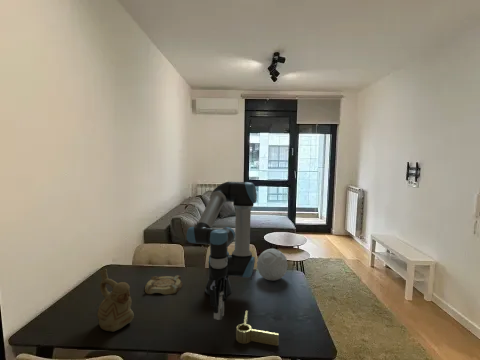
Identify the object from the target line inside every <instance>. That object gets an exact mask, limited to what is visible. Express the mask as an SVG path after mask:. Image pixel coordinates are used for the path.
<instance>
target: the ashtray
mask: <svg viewBox="0 0 480 360" xmlns="http://www.w3.org/2000/svg"><path fill="white" fill-rule="evenodd" d="M181 280H182V277H181V275H179V274H176V275H175V276H169V275H167V276H166V275H164V276H157V275H154V276H153V275H152V276H150V280H148V281H147V283H146V284H145V285H144V287H145V288H144V292H145V293H146V294H147V295H153V294H162V295H163V296H164V295H171V294H176V293H178V292H179V291H180V290H181V289H182V288H183V282H182V281H181Z"/></svg>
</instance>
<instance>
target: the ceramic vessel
mask: <svg viewBox="0 0 480 360" xmlns="http://www.w3.org/2000/svg"><path fill="white" fill-rule="evenodd" d="M99 274H100V276H101V277H100V278H101V280H100V283H99V284H100V285H99V289H100V292H101V294H102V296H103V298H104V299H103V300H102V301H101V302H100V304H99V306H98V309H97V316H96V317H97V318H98V326H99V327H100V329H102V330H103V331H106V332H112V333H113V332H116V331H119V330H121V329H122V328H123V327H125V326H127V325H128V324H130V323H131V322H132V321H133V320H134V317H135V314H134V311H133V310H132V309H131V307H132V304H133V303H132V297H131V293H130V287H131V286H130V285H129V283H127V282H125V281H121V282H120V281H119V282H117V281H115V280H113V279H112V278H109V276H108V270H107V268H105V269H101V270H100V271H99ZM107 285H109V286H110V287H111V288H112V292H111V291H109V290H108V288H107ZM110 292H111V293H110Z"/></svg>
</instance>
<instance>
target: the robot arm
mask: <svg viewBox="0 0 480 360" xmlns="http://www.w3.org/2000/svg"><path fill="white" fill-rule="evenodd" d="M257 196H258V195H257V187H256V185H255V184H254V183H253V182H248V181H225V182H222V183H220V184H219V185H217V186H216V187H215V188H214V189H213V190H212V192H210V195H209V201H207V202H208V203H207V205H206V206H205V208H204V210H203V212H202V214H201V216H200V217H199V220H198V221H197V223H196V225H195V226H190V227H188V228H187V230H186V240H187V242H188V243H191V244H198V245H199V244H201V245H209V250H210V251H209V252H210V254H209V256H208V279H207V281H206V286H205V293H206V295H208V296H209V300H210V301H209V302H210V306H211V307H213V319H214V320H218V321H220V305H219V296H220V290H222V291H223V292H224V294H223V296H222V317H224V315H225V302H226V301H227V297H228V295H230V294H231V293H232V285H231V282H230V280H229V279H230V278H229V277H237V278H238V277H239V278H251V276H252V274H253V273H254V269H255V265H256V258H255V257H254V256H253V253H252V252H251V250H250V248H251V247H250V243H251V211H252V208H253V207H254V204H255V203H257ZM228 202H229V203H233V207H234V208H235V220H234V221H235V225H234V226H235V227H234V229H233V228H232V227H229V226H227V227H226V226H225V227H223V228H213V226H214V224H215V222H216V220H217V218H218V216H219V213H220V212H221V209H222V207H223V206H224V205H225V204H226V203H228ZM232 243H234V249H233V251H232V252H231V254H230V253H229V251H228V250H229V249H228V248H229V246H230V245H231V244H232Z"/></svg>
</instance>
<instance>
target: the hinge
mask: <svg viewBox="0 0 480 360" xmlns="http://www.w3.org/2000/svg"><path fill="white" fill-rule="evenodd" d="M248 317H249V310H245V314H244V319H243V323H240V324H238V325H236V329H235V340H236V342H238V343H239V344H244V345H245V344H249V343H251V342H255V343H261V344H266V345H271V346H276V347H279V333H278V332H272V331H271V332H270V331H267V330H266V331H265V330H259V329H255V328H254V329H253V328H252V326H251V325H250V324H248V321H249V320H248V319H249V318H248Z"/></svg>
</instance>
